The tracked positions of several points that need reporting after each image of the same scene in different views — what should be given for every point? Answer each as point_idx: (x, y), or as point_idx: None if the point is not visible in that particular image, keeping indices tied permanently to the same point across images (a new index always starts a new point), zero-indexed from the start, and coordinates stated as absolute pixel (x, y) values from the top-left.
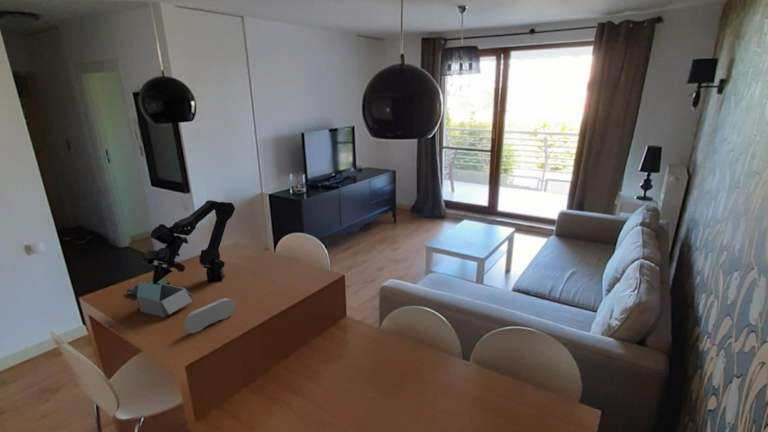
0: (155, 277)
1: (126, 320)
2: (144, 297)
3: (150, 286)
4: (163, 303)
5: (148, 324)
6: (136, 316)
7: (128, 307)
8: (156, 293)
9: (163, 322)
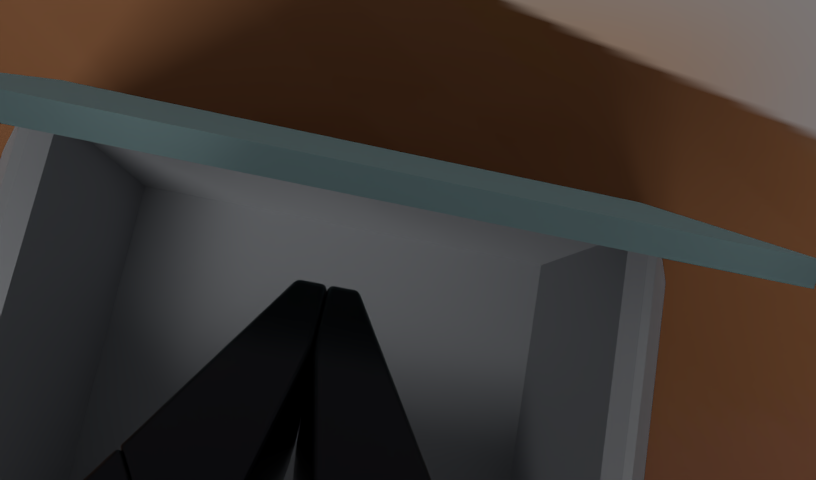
0: (259, 389)
1: (548, 68)
2: (587, 324)
3: (294, 145)
4: (16, 127)
5: (221, 24)
6: (507, 154)
7: (779, 317)
8: (83, 92)
9: (63, 80)
